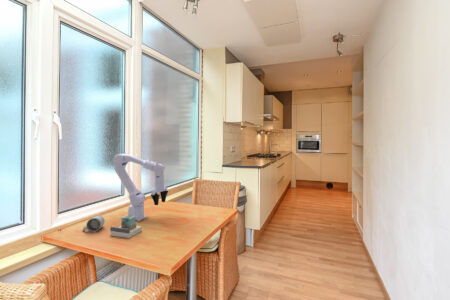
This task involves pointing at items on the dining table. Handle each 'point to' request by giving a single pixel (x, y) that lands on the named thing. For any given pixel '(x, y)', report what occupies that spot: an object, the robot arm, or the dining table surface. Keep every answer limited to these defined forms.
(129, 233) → the dock
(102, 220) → the ceramic mug
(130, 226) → the teal rectangular block
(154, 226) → the dining table surface
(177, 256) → the dining table surface
